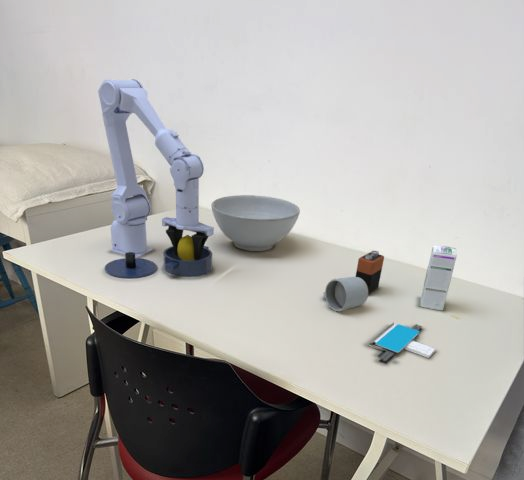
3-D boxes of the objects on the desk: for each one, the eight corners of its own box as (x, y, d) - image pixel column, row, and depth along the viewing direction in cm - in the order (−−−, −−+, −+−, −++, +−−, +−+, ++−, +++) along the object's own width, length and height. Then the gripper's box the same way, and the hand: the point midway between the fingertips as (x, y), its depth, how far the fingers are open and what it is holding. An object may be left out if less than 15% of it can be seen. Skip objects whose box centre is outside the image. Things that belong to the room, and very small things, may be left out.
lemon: (200, 261, 137) (200, 232, 133) (195, 268, 132) (195, 239, 128) (180, 259, 137) (179, 230, 133) (175, 266, 132) (174, 237, 128)
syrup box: (443, 311, 123) (458, 255, 116) (418, 306, 124) (432, 251, 117) (442, 302, 128) (457, 247, 120) (419, 298, 129) (432, 244, 122)
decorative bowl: (245, 226, 173) (247, 190, 166) (311, 245, 160) (316, 207, 154) (192, 244, 153) (192, 204, 147) (263, 267, 141) (266, 224, 134)
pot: (148, 275, 130) (147, 257, 128) (185, 255, 145) (185, 239, 142) (190, 286, 126) (190, 268, 124) (224, 264, 141) (225, 247, 138)
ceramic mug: (368, 309, 121) (373, 279, 117) (343, 316, 117) (348, 286, 113) (338, 293, 128) (342, 265, 125) (314, 300, 124) (317, 270, 120)
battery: (378, 288, 133) (385, 252, 128) (367, 295, 128) (374, 258, 123) (364, 283, 135) (370, 248, 130) (352, 290, 130) (358, 254, 125)
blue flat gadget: (413, 374, 97) (415, 367, 96) (358, 353, 103) (360, 346, 102) (447, 337, 111) (449, 331, 110) (397, 320, 117) (398, 314, 116)
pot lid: (94, 273, 129) (92, 256, 127) (126, 258, 140) (125, 242, 137) (136, 284, 125) (135, 267, 122) (166, 268, 135) (166, 251, 133)
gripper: (154, 204, 126) (156, 255, 133) (204, 214, 121) (203, 267, 128) (169, 198, 131) (171, 248, 138) (218, 208, 127) (216, 258, 134)
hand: (187, 256), depth 134 cm, fingers closed on lemon, 5 cm apart
